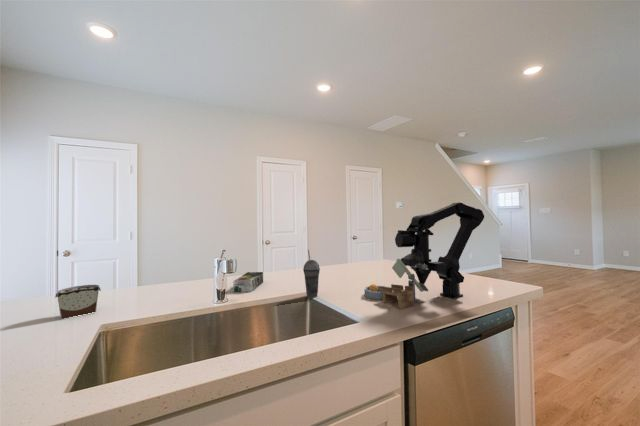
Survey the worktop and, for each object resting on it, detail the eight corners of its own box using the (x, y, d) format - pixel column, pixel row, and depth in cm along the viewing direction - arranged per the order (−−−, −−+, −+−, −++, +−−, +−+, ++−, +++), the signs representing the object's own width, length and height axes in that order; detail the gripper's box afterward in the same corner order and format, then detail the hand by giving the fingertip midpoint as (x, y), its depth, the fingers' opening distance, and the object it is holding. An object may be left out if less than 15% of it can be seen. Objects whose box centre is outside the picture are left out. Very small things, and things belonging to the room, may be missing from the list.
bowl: (379, 291, 119) (379, 284, 119) (396, 297, 109) (396, 289, 109) (360, 294, 114) (360, 287, 114) (376, 301, 104) (376, 293, 104)
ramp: (392, 298, 108) (392, 280, 108) (414, 305, 98) (413, 286, 98) (380, 300, 105) (379, 282, 105) (400, 308, 95) (400, 289, 95)
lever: (413, 298, 107) (420, 287, 109) (421, 301, 103) (428, 290, 105) (388, 267, 101) (396, 256, 103) (396, 268, 98) (403, 257, 100)
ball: (380, 286, 112) (379, 294, 113) (374, 281, 115) (373, 289, 116) (373, 288, 110) (371, 296, 111) (367, 283, 113) (366, 291, 114)
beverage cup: (318, 299, 109) (317, 250, 110) (301, 298, 111) (300, 250, 111) (322, 294, 116) (321, 248, 117) (306, 293, 118) (305, 248, 118)
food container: (99, 308, 105) (99, 282, 105) (100, 311, 100) (100, 285, 100) (55, 316, 96) (55, 289, 96) (55, 321, 91) (54, 292, 92)
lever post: (412, 298, 107) (411, 279, 107) (419, 301, 103) (419, 281, 103) (404, 300, 105) (404, 280, 105) (412, 303, 101) (411, 282, 101)
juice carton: (252, 292, 122) (252, 279, 122) (231, 293, 122) (231, 280, 123) (264, 282, 142) (263, 271, 142) (246, 283, 142) (245, 271, 143)
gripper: (390, 245, 112) (390, 282, 111) (426, 249, 95) (427, 293, 95) (409, 244, 117) (410, 279, 116) (446, 248, 100) (447, 289, 100)
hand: (422, 285), depth 107 cm, fingers closed, pressing on lever
